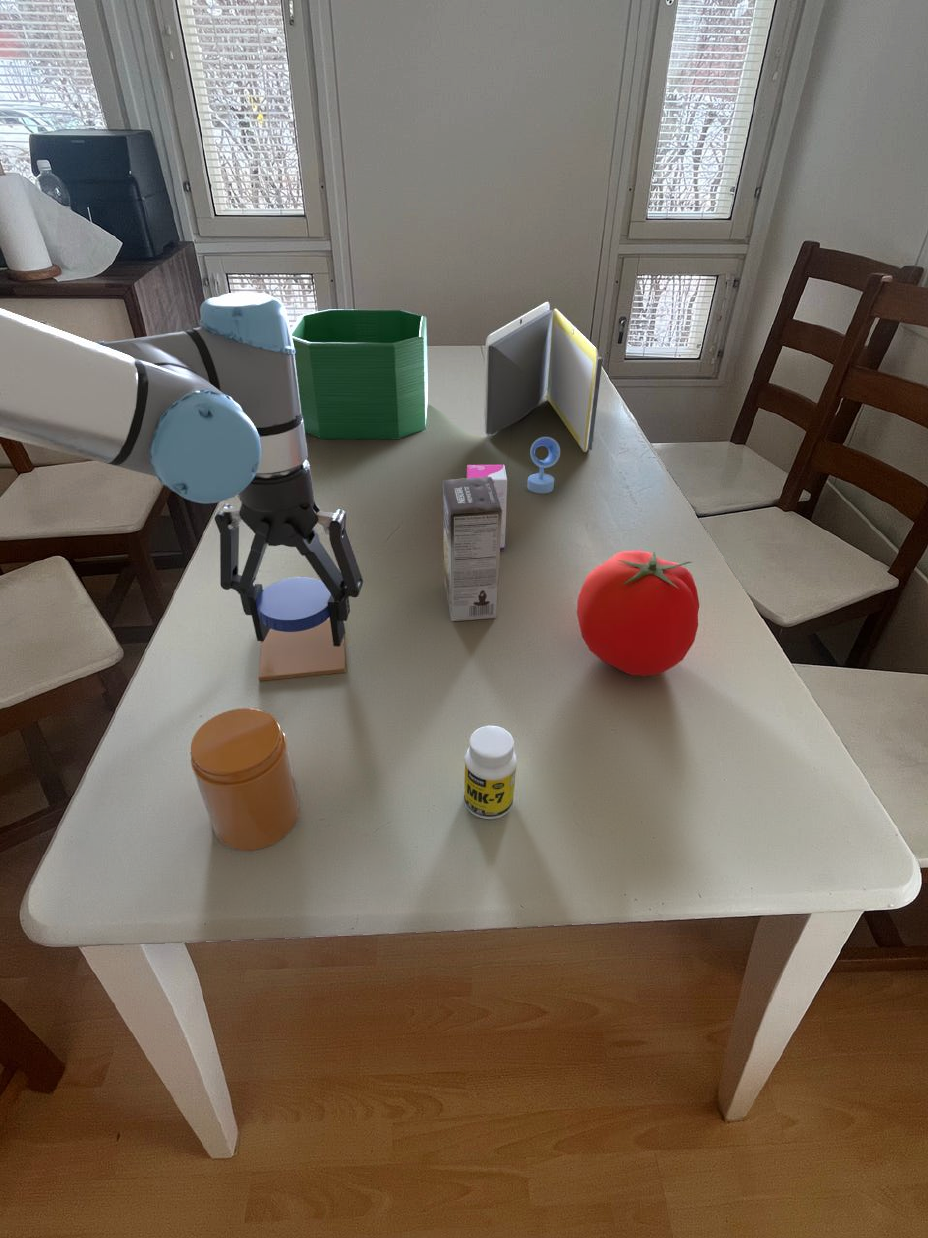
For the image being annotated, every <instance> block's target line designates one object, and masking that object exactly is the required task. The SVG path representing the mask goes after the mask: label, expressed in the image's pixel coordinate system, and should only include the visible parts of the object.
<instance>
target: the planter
mask: <svg viewBox="0 0 928 1238" xmlns="http://www.w3.org/2000/svg"><path fill="white" fill-rule="evenodd" d="M290 329H291V334H292V340H293V345H294V348H295V362H296V371H297V379H298V388H299V396H300V405H301V410H302V417H303V422H304V429H305V433H308V434H310V435H312V436H314V437H316V438H318V439H320V440H400V439H403V438H405V437H408V436H411V435H414V434H416V433H419V432H421V431H424V430H426V428H427V418H428V417H427V415H428V403H429V400H428V399H429V395H428V392H429V379H428V378H429V376H428V375H429V374H428V373H429V371H428V342H427V341H428V338H427V337H428V336H427V335H428V333H427V317H426V316H424V315H421V314H417V313H414V312H410V311H407V310H403V309H326V310H325V309H324V310H320V311H316V312H311V313H306V314H302V315H299V317H298V319H297V320H296V321H295V323H294V325H292V327H291V328H290Z"/></svg>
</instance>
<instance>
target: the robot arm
mask: <svg viewBox="0 0 928 1238" xmlns="http://www.w3.org/2000/svg"><path fill="white" fill-rule="evenodd" d="M199 314H200V320H199V324H200V326H199V327H193V328H191V329H188V330H184V331H176V332H170V333H169V332H168V333H163V334H156V335H149V336H142V337H136V338H135V337H134V338H128V339H122V340H114V341H105V340H100V341H98V342H93V341H91V340H89V339H88V340H87V339H85V338H83V337H79V336H78V335H75V334H71V333H69V332H66V331H63V330H60V329H58V328H55V327H52V326H50V325H48V324H45V323H43V322H42V323H41V322H40V321H39V322H38V321H36V320H34V319H32V318H31V319H30V318H28V317H25V316H23V315H20V314H17V313H14V312H12V311H10V310H7V309H4V308H1V307H0V437H1V438H4V439H8V440H13V441H17V442H21V443H23V444H27V445H28V444H29V445H32V446H36V447H40V448H44V449H48V450H53V451H55V452H61V453H63V454H67V455H71V456H72V455H73V456H76V457H80V458H83V459H88V460H91V461H95V462H100V463H103V464H107V465H112V466H116V467H119V468H122V469H126V470H130V471H133V472H137V473H141V474H143V475H148V476H153V477H156V478H157V479H158V481H159V482H160V483H161V484H162V485H163V486H164V487H166V488H167V489H169V490H171V491H172V492H174V493H175V494H176V495H179V496H180V497H181V498H183V499H185V500H187V501H189V502H194V503H199V504H206V505H207V504H216V503H217V504H218V503H222V502H225V501H228V500H230V499H233V498H235V497H236V496H238V498H239V500H240V502H241V503H240V506H236V507H233V505H231V504H229V503H225V504H223V505H222V507H221V508H220V509H219V510H218V512H217V513H216V514H215V515H214V522H215V524H216V528H217V530H218V532H219V554H220V555H219V556H220V557H219V563H220V564H219V570H220V571H219V573H220V574H219V575H220V576H219V578H220V579H219V581H220V585H219V586H220V587H221V589H223V590H225V591H229V590H234V591H235V592H237V593H238V595H239V598H240V602H241V606H242V610H243V613H244V614H245V616H251V618H252V623H253V628H254V632H255V637H256V641H257V642H261V643H262V642H264V640H265V638H266V636H267V634H268V632H269V630H270V628H269V627H267V626H265V625H264V624H263V623H261V620H260V618H258V613H257V605H256V600H257V598H258V596H259V594H260V593H261V591H262V590H263V589H264V588H263V584H262V583H255V581H256V580H257V575H258V572H259V569H260V567H261V564H262V561H263V558H264V556H265V553H266V550H267V548H268V546H269V547H278V546H285V547H289V548H296V550H297V552H298V553H299V554H300V555H301V556H303V557H304V558H305V559H306V560H307V562H308V563H309V564H310V566H311V567H312V568H313V570H314V572H315V573H316V575H317V576H318V578H319V580H321V581H322V582H323V583H324V585H325V586H326V588H327V589H328V590H329V592H330V593H331V595H330V597H329V600H328V609H329V616H330V617H329V619H330V624H331V631H332V638H333V645H334V646H339V647H340V645H341V642H342V640H343V637H344V638H345V635H346V630H345V622H347V621H348V618H349V615H350V613H351V606H350V597H351V598H358V597H359V595H360V593H361V590H362V588H363V584H364V579H363V575H362V573H361V570H360V568H359V565H358V562H357V558H356V555H355V553H354V549H353V547H352V544H351V541H350V538H349V535H348V532H347V529H346V526H347V513H346V512H345V510H343V509H337V510H335V512H330V511H323V510H321V509H320V507H319V506H318V504H317V503H316V501H315V495H314V486H313V478H312V471H311V464H310V462H309V461H308V459H307V458H308V457H309V453H308V452H309V451H308V446H307V445H308V444H307V438H306V432H305V429H304V422H303V417H302V410H301V405H300V396H299V388H298V379H297V371H296V362H295V348H294V345H293V340H292V334H291V329H292V328H291V326H290V325H291V324H290V322H289V318H288V313H287V310H286V307H285V305H284V304H283V303H282V301H280V300H279V299H278V298H276V297H274V296H271V295H269V294H264V293H257V292H256V293H255V292H235V293H226V294H221V295H218V296H215V297H209V298H207V299H206V300H204V301H203V302H202V303H201V305H200V307H199ZM242 522H243V523H244V524H245V525H246V526H247V527H248V528H249V529H250V530H251V531H252V532H253V533H254V536H253V539H252V543H251V545H250V550H249V553H248V555H247V556H248V557H247V559H246V561H245V565H244V568H243V571H242V573H241V574H239V564H240V563H239V562H240V560H239V559H240V556H239V555H240V525H241V523H242ZM317 524H320V525H321V526H322V528H323V531H324V533H325V535H328V537H329V538H328V539H329V543H330V548H331V549H332V552H333V554H334V558H335V560H336V563H337V564H336V563H335V561H334V560H333V559H332V558H331V555H330V554H329V553H328V551H327V549H326V548H325V547H324V545H323V543H322V542H321V541H320V536H319V534H318V532H317V531H316V529H315V527H316V525H317ZM254 583H255V584H254Z"/></svg>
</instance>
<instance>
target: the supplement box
mask: <svg viewBox="0 0 928 1238" xmlns="http://www.w3.org/2000/svg"><path fill="white" fill-rule="evenodd" d="M480 477H491V478H492V480H493V483H494V486H495V489H496V492H497V495H498V499H499V502H500V504H501V508H502V525H501V545H500V552H501V551H502V552H503V551H504V552H505V547H506V546H505V544H506V526H507V525H506V522H507V521H506V520H507V496H508V495H507V494H508V477H507V472H506V465H505V464H467V465H466V478H480Z"/></svg>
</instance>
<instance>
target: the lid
mask: <svg viewBox="0 0 928 1238" xmlns="http://www.w3.org/2000/svg"><path fill="white" fill-rule="evenodd" d="M330 595H331V593H330V592H329V590H328V589H327V588H326V586H325V585H324V583H323V582H322V580H321V579H318V578H314V577H309V576H293V577H288V578H285V579H280V580H278V581H275V582H273V583H271V584H269V585H268V586H266V587H264V588H263V590H262V591H261V593H260V594H259V596H258V598H257V600H256V605H257V613H258V618H260V620H261V623H263V624H264V625H265V626H267V627H269V628H271V629H273V630H277V631H282V632H298V631H304V630H308V629H311V628H313V627H316V626H318V625H320V624H321V623H323V622H324V621H326V620H329V619H330V616H329V609H328V600H329V597H330Z"/></svg>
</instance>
